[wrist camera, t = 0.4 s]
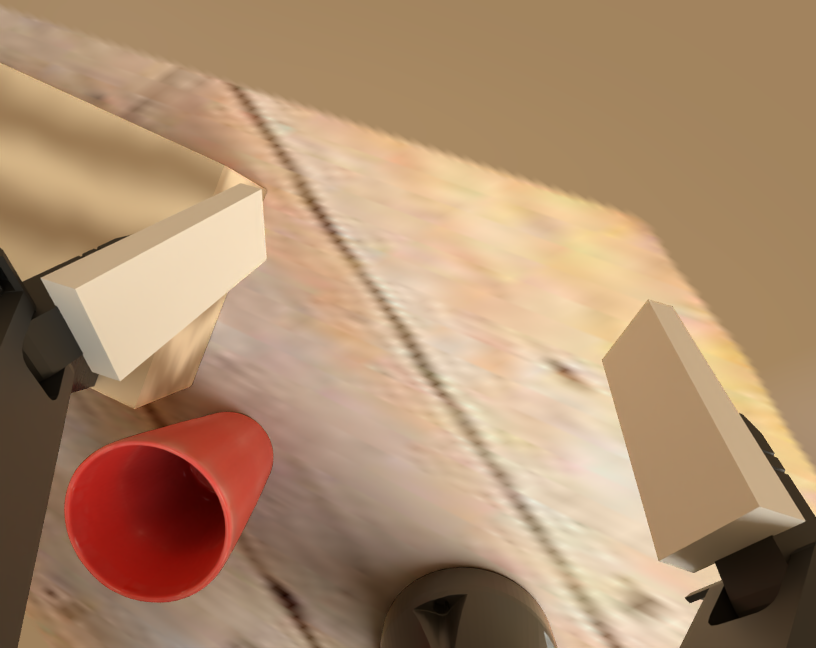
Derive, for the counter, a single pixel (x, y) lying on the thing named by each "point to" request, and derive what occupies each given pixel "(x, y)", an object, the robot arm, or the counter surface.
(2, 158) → the stool seat
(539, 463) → the counter surface
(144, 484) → the flower pot
